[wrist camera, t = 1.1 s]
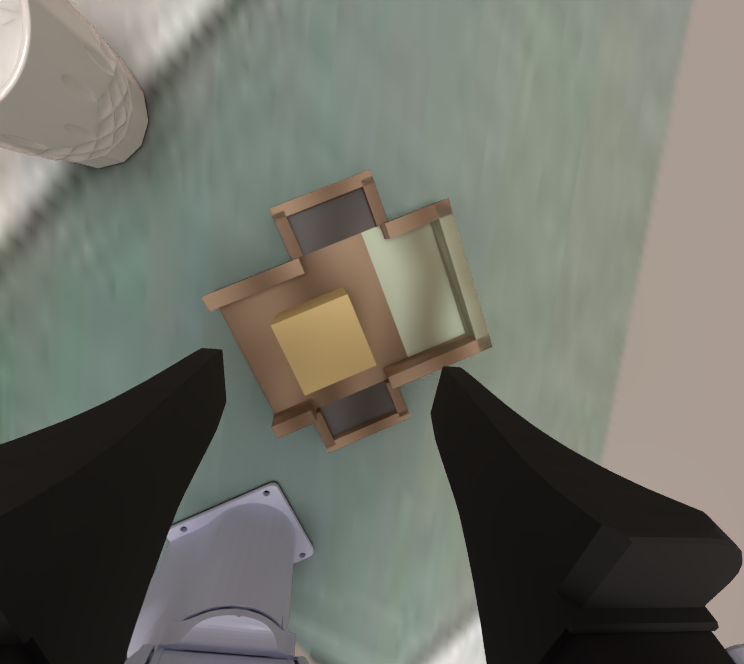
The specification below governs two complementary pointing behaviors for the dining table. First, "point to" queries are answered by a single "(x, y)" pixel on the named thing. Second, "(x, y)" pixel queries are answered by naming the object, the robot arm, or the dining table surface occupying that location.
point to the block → (323, 340)
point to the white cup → (65, 88)
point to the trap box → (359, 305)
